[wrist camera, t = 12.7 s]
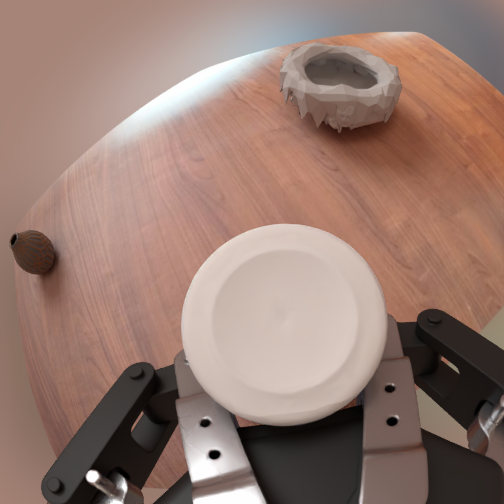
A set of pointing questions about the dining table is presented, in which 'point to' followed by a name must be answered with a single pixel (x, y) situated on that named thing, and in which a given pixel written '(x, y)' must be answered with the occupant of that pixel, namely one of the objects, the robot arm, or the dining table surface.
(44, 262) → the vase
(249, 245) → the sprinkles bottle
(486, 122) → the dining table surface
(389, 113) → the bowl
